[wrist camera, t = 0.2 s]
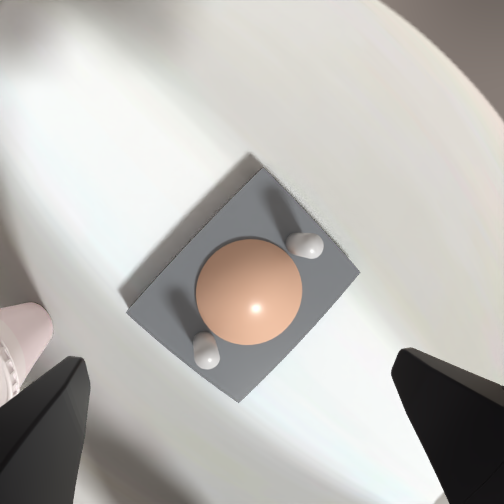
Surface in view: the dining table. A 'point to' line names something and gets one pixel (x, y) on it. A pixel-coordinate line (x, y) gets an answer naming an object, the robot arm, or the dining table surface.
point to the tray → (245, 288)
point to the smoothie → (21, 344)
